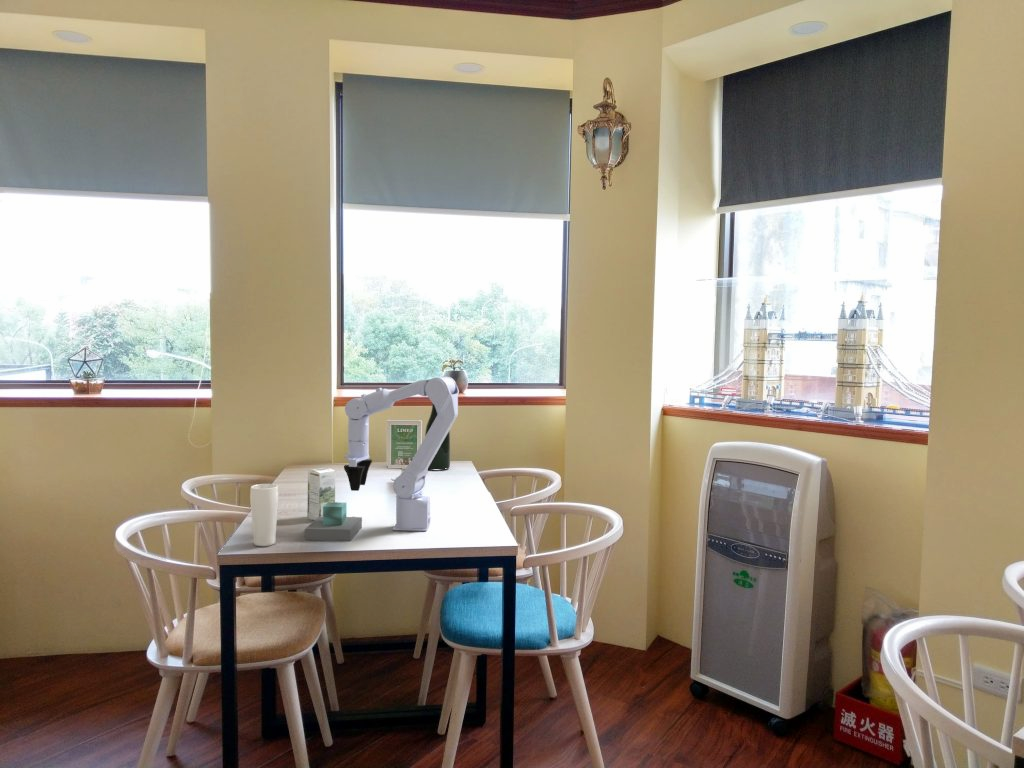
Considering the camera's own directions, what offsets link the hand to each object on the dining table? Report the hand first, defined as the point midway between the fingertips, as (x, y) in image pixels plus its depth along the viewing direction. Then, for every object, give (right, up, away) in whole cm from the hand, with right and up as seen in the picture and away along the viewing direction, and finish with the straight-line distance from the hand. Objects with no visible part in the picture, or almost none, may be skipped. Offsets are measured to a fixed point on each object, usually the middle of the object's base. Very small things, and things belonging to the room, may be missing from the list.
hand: (358, 487), depth 205 cm
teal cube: (-4, -8, -11) cm, 14 cm away
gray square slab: (-4, -11, -10) cm, 16 cm away
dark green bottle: (+13, -5, +88) cm, 89 cm away
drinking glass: (-19, -12, -21) cm, 31 cm away
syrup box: (-12, -10, +6) cm, 17 cm away
